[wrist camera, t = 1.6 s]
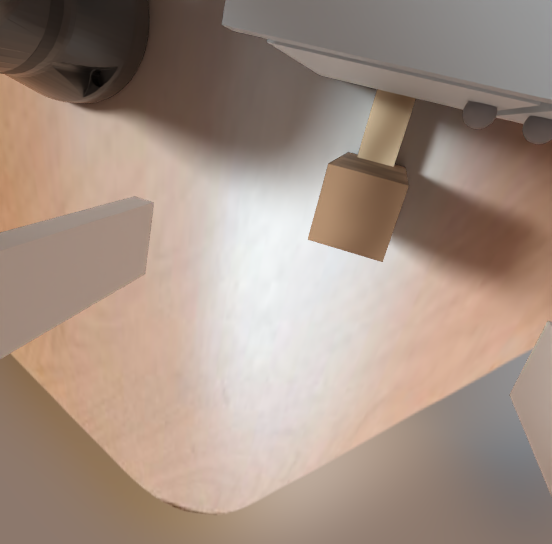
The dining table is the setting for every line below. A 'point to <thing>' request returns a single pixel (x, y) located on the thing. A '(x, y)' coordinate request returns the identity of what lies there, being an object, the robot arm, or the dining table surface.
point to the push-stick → (366, 184)
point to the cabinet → (422, 50)
